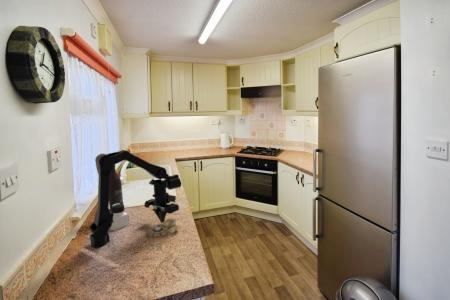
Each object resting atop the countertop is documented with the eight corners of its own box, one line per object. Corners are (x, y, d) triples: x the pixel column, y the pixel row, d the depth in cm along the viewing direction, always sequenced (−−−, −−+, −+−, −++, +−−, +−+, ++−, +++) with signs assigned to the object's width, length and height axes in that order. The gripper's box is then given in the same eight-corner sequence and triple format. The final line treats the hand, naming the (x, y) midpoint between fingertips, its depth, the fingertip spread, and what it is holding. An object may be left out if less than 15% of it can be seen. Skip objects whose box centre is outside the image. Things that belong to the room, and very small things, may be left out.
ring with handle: (156, 238, 115) (156, 231, 115) (144, 233, 120) (143, 227, 120) (180, 225, 127) (180, 219, 127) (168, 221, 132) (167, 216, 132)
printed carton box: (130, 227, 131) (127, 204, 129) (116, 232, 126) (113, 208, 124) (123, 223, 136) (121, 201, 134) (109, 228, 131) (107, 205, 129)
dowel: (176, 233, 120) (176, 226, 119) (174, 232, 121) (173, 225, 120) (179, 231, 121) (178, 224, 121) (176, 231, 122) (176, 224, 122)
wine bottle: (118, 219, 141) (112, 165, 136) (107, 218, 143) (102, 164, 139) (127, 215, 147) (122, 162, 143) (117, 213, 150) (111, 162, 145)
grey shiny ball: (157, 234, 119) (157, 228, 119) (153, 232, 121) (153, 226, 121) (162, 231, 122) (161, 225, 121) (158, 230, 123) (157, 224, 123)
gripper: (185, 190, 129) (187, 220, 131) (159, 185, 139) (161, 213, 141) (169, 196, 119) (171, 228, 122) (142, 190, 130) (145, 220, 132)
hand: (162, 222), depth 129 cm, fingers closed
